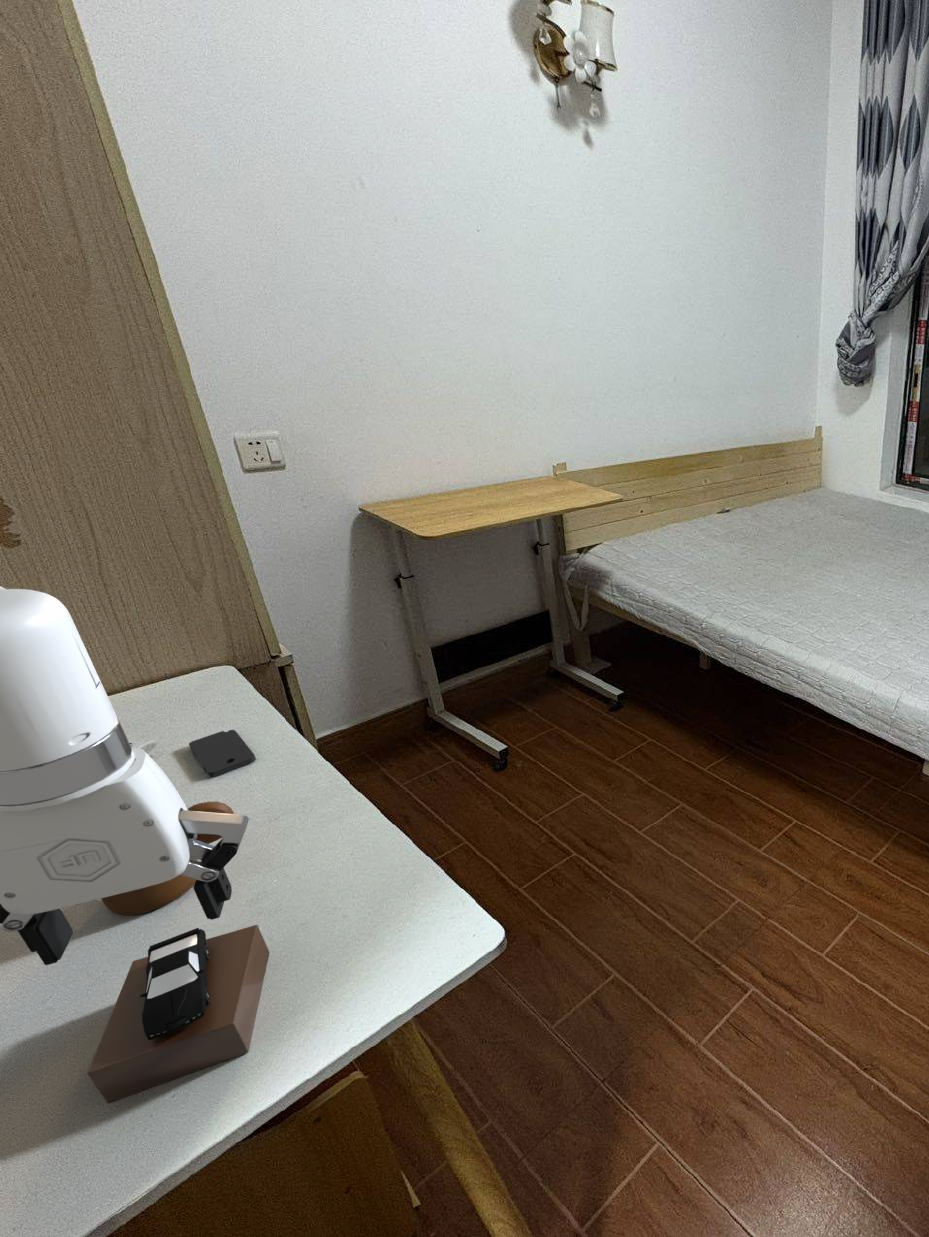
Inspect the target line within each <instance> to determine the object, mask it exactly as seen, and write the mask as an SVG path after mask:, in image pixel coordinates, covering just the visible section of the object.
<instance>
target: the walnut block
mask: <svg viewBox="0 0 929 1237" xmlns="http://www.w3.org/2000/svg"><path fill="white" fill-rule="evenodd" d="M206 945H207V947H208V950H209V954H210V959H209V960H207V988H208V991H209V994H210V999H211V1002H210V1003H209V1004H207V1005H206V1011H205V1015H204V1016H203V1017H202V1018H200V1019H198V1020H196V1021H195V1022H193V1023H191V1024H189V1025H188V1026H186V1027H184V1028H182V1029H181V1030H179V1031H177V1032H174V1033H171V1034H168V1035H164V1036H161V1037H158V1038H155V1039H152V1040H148V1038H147V1036H146V1035H145V1032H144V1027H143V1023H142V1013H143V1007H144V1002H145V997H140V995H142V994H144V993H146V978H147V975H146V966H147V964H148V956H145V957H142V958H139V959H135V960H133V961H132V962H131V964H130V968H129V970H128V972H127V975H126V977H125V980H124V982H123V984H122V987H121V989H120V992H119V994H118V997H117V999H116V1002H115V1004H114V1007H113V1009H112V1012H111V1014H110V1017H109V1019H108V1021H107V1024H106V1026H105V1029H104V1031H103V1034H102V1036H101V1039H100V1041H99V1043H98V1046H97V1049H96V1051H95V1052H94V1056H93V1058H92V1060H91V1064H90V1066H89V1068H88V1070H87V1076H88V1077H89V1078H90V1080H91V1082H92V1083H93V1084H94V1086H95V1087H96V1089H97V1090H98V1092H99V1093H100V1094H101V1096H102V1097H103V1099H104V1100H105V1102H106V1103H107V1104H109V1103H112V1102H115V1101H118V1100H120V1099H123V1098H126V1097H129V1096H131V1095H134V1094H137V1093H140V1092H143V1091H145V1090H148V1089H151V1088H154V1087H157V1086H159V1085H163V1084H165V1083H167V1082H170V1081H173V1080H176V1079H179V1078H181V1077H184V1076H187V1075H189V1074H192V1073H195V1072H198V1071H202V1070H203V1069H206V1068H209V1067H212V1066H215V1065H217V1064H221V1063H222V1062H225V1061H229V1060H231V1059H234V1058H237V1057H240V1056H242V1055H245V1054H247V1053H249V1052H250V1048H251V1047H250V1046H251V1042H252V1037H253V1032H254V1028H255V1022H256V1018H257V1014H258V1008H259V1004H260V1000H261V994H262V990H263V985H264V979H265V975H266V972H267V971H266V970H267V966H268V961H269V957H270V950H269V948H268V946H267V943H266V942H265V939H264V936H263V934H262V932H261V930H260V927H259V925H258V924H254V925H251V926H248V927H244V928H240V929H238V930H237V929H236V930H234V931H230V932H226V933H224V934H220V935H217V936H214V937H209V938H206Z"/></svg>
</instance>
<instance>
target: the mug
mask: <svg viewBox="0 0 929 1237" xmlns="http://www.w3.org/2000/svg"><path fill="white" fill-rule="evenodd" d="M187 809H188V811H200V812H213V813H225V814H235V812H234V810H233V809H232V807H230V806H229V805H228V804H226V803H223V802H220V801H204V802H200V803H196V804H193V805H192V806H189V807H187ZM221 839H222V837H221V836H220V835H213V834H197V838H196V840H198V841H201V842H204V843H207V844H212V843H215V842H216V841H220V840H221ZM190 858H191V859H194V860H197V861H199V859H196V858H193V857H190ZM195 882H196V879H193V878H190V877H186V876H183V875H179V876H177V877H175V878H173V879H171V880H169V881H166V882H163V883H159V884H156V885H152V886H149V887H145V888H141V889H137V890H133V891H129V892H125V893H121V894H117V895H113V896H109V897H105V898H101V899H100V900H101V901H102V903H103V905H104V906H105V907H106V908H107V909H108V910H109V911H110V912H111V913H113V914H117V915H122V916H134V915H135V916H136V915H140V914H141V915H142V914H145V913H149V912H152V911H154V910H157V909H160V908H162V907H164V906H166V905H169V904H171V903H172V902H174V901H176V900H177V899H179V898H180V897H182V896H183V895H185V894H186V893H187V892H188V891H190V890H191V889H192V888H193V887H194V884H195Z"/></svg>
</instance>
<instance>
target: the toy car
mask: <svg viewBox="0 0 929 1237" xmlns="http://www.w3.org/2000/svg"><path fill="white" fill-rule="evenodd" d="M206 939H207V936H206V932H205V930H203V929H202V928H199V927H196V928H193V929H191V930H188V931H185V932H182V933H180V934H178V935H175V936H173V937H170V938H168V939H165V940H161V941H160V942H157V943H154V944H151V945H149V948H148V949H147V957H148V964H147V966H146V975H147V978H146V993H144V994H142V995H140V997H145V1002H144V1007H143V1013H142V1023H143V1027H144V1032H145V1035H146V1036H147V1038H148V1040H152V1039H155V1038H158V1037H161V1036H164V1035H168V1034H171V1033H174V1032H177V1031H179V1030H181V1029H182V1028H184V1027H186V1026H188V1025H189V1024H191V1023H193V1022H195V1021H196V1020H198V1019H200V1018H202V1017H203V1016H204V1015H205V1011H206V1005H207V1004H209V1003H210V1002H211V999H210V994H209V991H208V988H207V960H209V959H210V954H209V950H208V947H207V945H206Z"/></svg>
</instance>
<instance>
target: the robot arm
mask: <svg viewBox="0 0 929 1237" xmlns="http://www.w3.org/2000/svg"><path fill="white" fill-rule="evenodd" d="M115 711H116V710H115V709H114V707H113V704H112V702H111V700H110V698H109V696H108V694H107V691H106V689H105V688H104V686H103V683H102V681H101V678H100V677H99V675H98V672H97V670H96V668H95V666H94V664H93V661H92V659H91V657H90V654H89V653H88V651H87V648H86V646H85V644H84V642H83V639H82V638H81V635H80V633H79V631H78V628H77V626H76V624H75V622H74V619H73V617H72V616H71V614H70V612H69V610H68V609H67V607H66V606H65V605H64V604H63V603H62V601H61V600H59V599H58V598H57V597H54V596H52V595H51V594H48V593H46V592H43V591H39V590H34V589H25V588H5V587H3V586H1V585H0V924H1V927H0V928H1V929H2V930H3V931H5V932H10V933H11V932H18V934H19V935H20V937H21V939H22V941H23V942H24V943H25V945H26V946H27V948H28V949H29V951H30V952H32V953H35V952H36V953H37V956H38V957H39V958H40V960H41V961H42V963H43V964H44V966H50V965H51V964H53V965H54V964H56V963H57V962H58V961H60V960H61V959H62V957H63V955H64V953H65V951H66V949H67V947H68V945H69V944H70V941H71V939H72V938H73V935H74V930H73V927H72V926H71V925H70V923H69V921H68V919H67V917H66V916H65V913H64V912H63V911H62V909H64V908H68V907H72V906H77V905H80V904H84V903H89V902H92V901H93V902H94V901H97V900H102V899H101V898H105V897H109V896H113V895H117V894H121V893H125V892H129V891H133V890H137V889H141V888H145V887H149V886H152V885H156V884H159V883H163V882H166V881H169V880H171V879H173V878H175V877H177V876H179V875H183V876H186V877H190V878H193V879H196V882H195V884H194V885H193V891H194V894H195V895H196V897H197V900H198V902H199V904H200V906H201V908H202V911H203V914H205V917H206V919H207V920H211V921H212V920H215V919H220V918H221V915H222V912H223V909H224V905H225V902H226V901H229V900H231V897H232V892H233V888H232V884H231V882H230V880H229V877H228V875H227V873H226V871H225V867H226V866H227V865H228V864H229V863H230V861H231V860H232V859H233V858H234V857H235V856H236V855H237V853H238V851H239V848H240V846H241V843H242V840H243V838H244V836H245V833H246V831H247V828H248V823H249V820H250V818H249V816H247V815H245V814H237V813H234V814H225V813H213V812H200V811H188V807H187V806H186V803H185V802H184V801H183V799H182V796H181V795H180V794H179V792H178V790H177V789H176V787H175V786H174V784H173V782H172V780H170V779H169V777H168V776H167V775H166V773H165V772H164V771H163V769H162V768H161V767H160V766H159V764H158V763H157V762H155V760H154V759H153V758H152V756H150V755H149V754H148V753H147V752H146V751H145V750H144V749H143V748H139V747H138V748H133V747H132V746H131V744H130V742H129V739H128V736H127V735H126V733H125V731H124V728H123V726H122V724H121V722H120V720H119V718H118V716H117V713H116V712H115ZM197 834H213V835H220V836H221V837H222V838H220V839H219V840H218V842H217V843H216V844H215V845H212V844H211V843H209V844H207V843H204V842H201V841H198V840H196V838H197ZM190 857H193V858H196V859H197V860H198V861H197V860H194V859H191V858H190Z"/></svg>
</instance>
